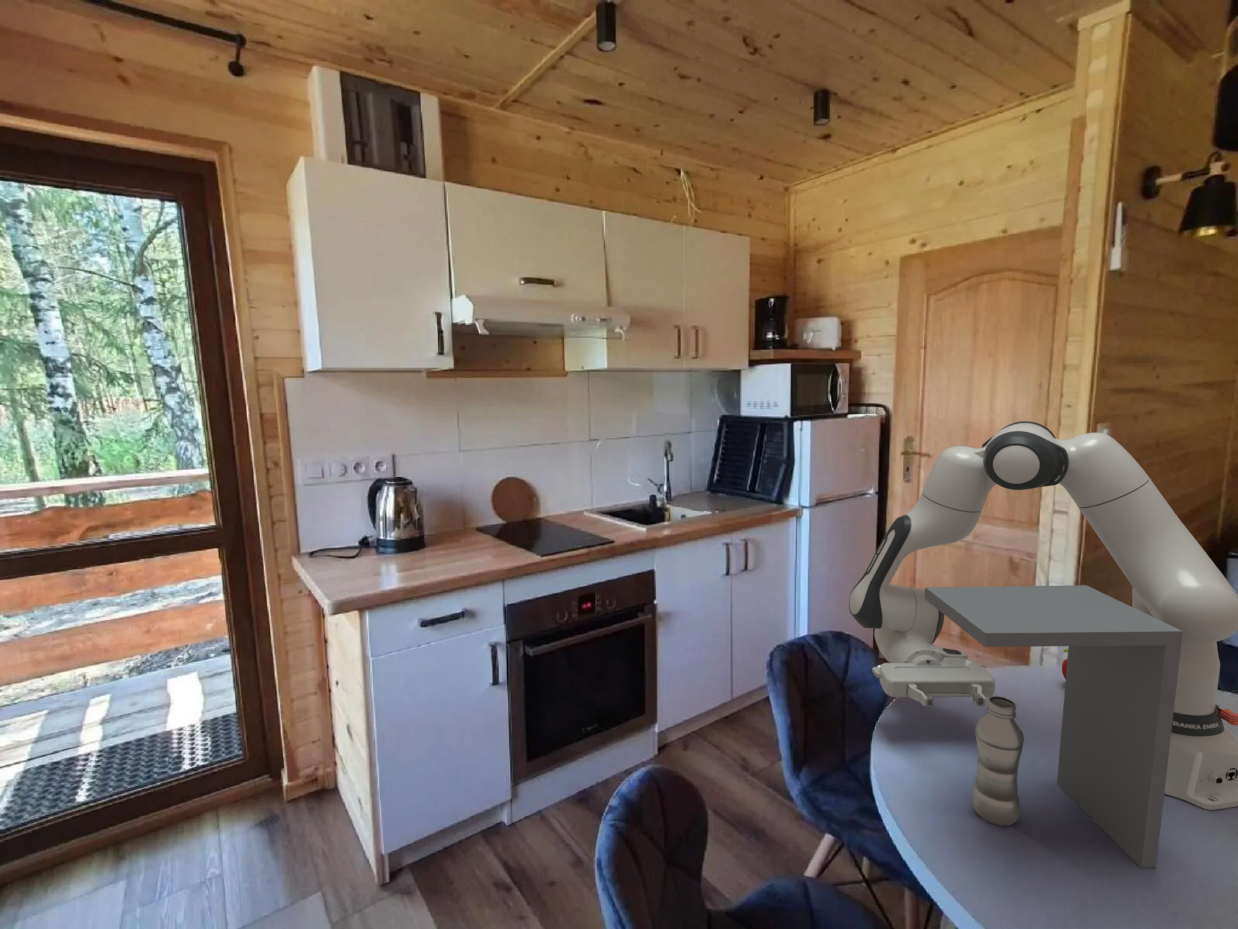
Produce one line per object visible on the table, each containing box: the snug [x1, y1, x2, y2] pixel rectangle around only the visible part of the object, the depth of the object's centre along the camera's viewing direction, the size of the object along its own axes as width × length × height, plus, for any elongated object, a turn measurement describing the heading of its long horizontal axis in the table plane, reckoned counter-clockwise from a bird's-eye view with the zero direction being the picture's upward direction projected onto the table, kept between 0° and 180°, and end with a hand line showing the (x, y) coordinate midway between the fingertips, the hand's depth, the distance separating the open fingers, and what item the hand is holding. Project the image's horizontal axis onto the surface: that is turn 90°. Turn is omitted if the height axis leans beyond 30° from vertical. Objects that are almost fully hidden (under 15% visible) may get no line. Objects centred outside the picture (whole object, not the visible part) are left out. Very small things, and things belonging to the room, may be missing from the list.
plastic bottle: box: [970, 695, 1025, 827], centre depth 96 cm, size 6×7×20 cm
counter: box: [924, 584, 1183, 869], centre depth 94 cm, size 26×18×36 cm
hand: (955, 702), depth 109 cm, fingers open, 8 cm apart
